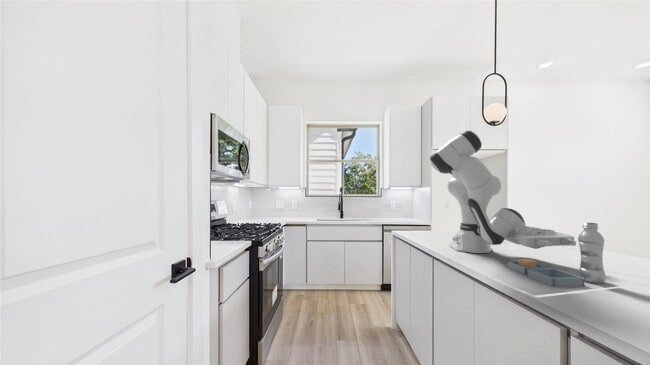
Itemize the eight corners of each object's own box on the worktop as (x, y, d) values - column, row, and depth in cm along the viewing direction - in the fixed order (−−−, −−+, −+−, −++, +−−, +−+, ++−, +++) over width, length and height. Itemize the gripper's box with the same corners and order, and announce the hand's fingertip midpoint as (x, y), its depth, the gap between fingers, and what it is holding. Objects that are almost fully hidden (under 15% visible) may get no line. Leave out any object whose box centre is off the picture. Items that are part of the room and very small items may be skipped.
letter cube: (518, 269, 107) (518, 259, 107) (527, 268, 108) (526, 258, 108) (528, 272, 103) (527, 261, 103) (536, 271, 104) (536, 261, 104)
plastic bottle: (594, 279, 96) (591, 222, 96) (612, 286, 89) (609, 224, 90) (573, 279, 97) (571, 222, 97) (590, 286, 90) (588, 224, 90)
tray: (526, 277, 99) (526, 268, 99) (554, 276, 100) (553, 268, 100) (553, 288, 88) (553, 278, 88) (584, 287, 88) (584, 277, 89)
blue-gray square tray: (507, 269, 110) (507, 261, 110) (529, 268, 110) (529, 260, 110) (525, 276, 101) (525, 267, 101) (549, 275, 101) (549, 267, 101)
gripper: (509, 230, 117) (535, 235, 104) (555, 229, 118) (587, 234, 105) (509, 245, 117) (535, 252, 103) (555, 244, 118) (588, 251, 104)
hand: (562, 243), depth 104 cm, fingers open, 8 cm apart
